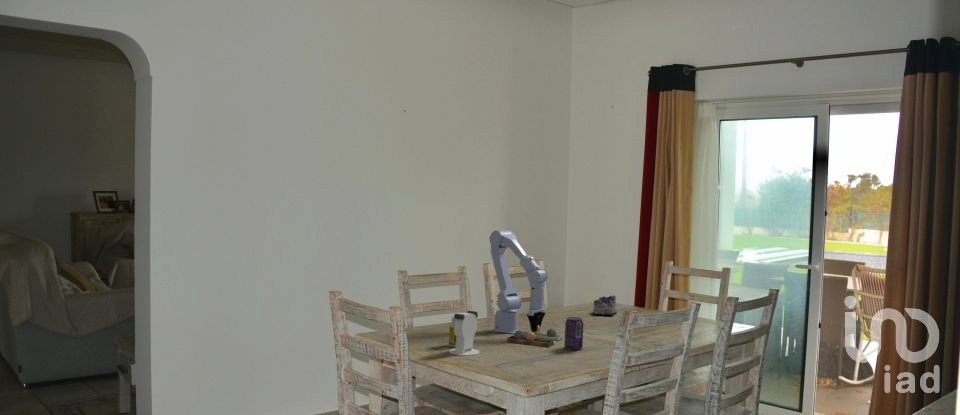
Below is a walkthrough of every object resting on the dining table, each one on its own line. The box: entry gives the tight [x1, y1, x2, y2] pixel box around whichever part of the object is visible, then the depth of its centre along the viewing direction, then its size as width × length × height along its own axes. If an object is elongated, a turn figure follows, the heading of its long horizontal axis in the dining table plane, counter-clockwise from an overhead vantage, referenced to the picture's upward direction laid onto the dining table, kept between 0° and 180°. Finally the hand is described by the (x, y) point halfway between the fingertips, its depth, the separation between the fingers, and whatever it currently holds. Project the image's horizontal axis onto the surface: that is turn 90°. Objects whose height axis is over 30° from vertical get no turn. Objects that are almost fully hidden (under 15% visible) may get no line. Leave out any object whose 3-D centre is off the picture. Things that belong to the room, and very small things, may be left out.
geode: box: [592, 294, 618, 316], centre depth 386 cm, size 20×12×10 cm, turn 160°
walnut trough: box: [506, 335, 555, 348], centre depth 307 cm, size 18×6×2 cm, turn 67°
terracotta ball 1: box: [526, 331, 536, 341], centre depth 307 cm, size 4×4×4 cm
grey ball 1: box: [513, 330, 524, 340], centre depth 309 cm, size 4×4×4 cm
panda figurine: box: [449, 310, 480, 357], centre depth 287 cm, size 12×11×15 cm
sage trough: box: [521, 330, 564, 344], centre depth 316 cm, size 18×11×2 cm, turn 67°
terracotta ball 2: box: [531, 325, 541, 334], centre depth 319 cm, size 4×4×4 cm
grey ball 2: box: [546, 327, 557, 337], centre depth 316 cm, size 4×4×4 cm
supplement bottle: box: [448, 315, 456, 348], centre depth 297 cm, size 6×6×11 cm
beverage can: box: [564, 316, 584, 351], centre depth 300 cm, size 7×7×12 cm
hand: (535, 330), depth 319 cm, fingers closed on terracotta ball 2, 4 cm apart
